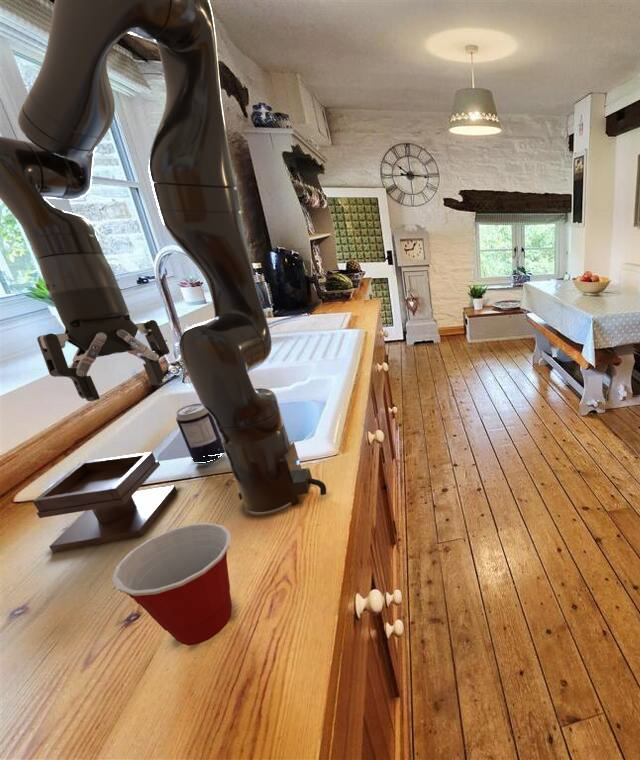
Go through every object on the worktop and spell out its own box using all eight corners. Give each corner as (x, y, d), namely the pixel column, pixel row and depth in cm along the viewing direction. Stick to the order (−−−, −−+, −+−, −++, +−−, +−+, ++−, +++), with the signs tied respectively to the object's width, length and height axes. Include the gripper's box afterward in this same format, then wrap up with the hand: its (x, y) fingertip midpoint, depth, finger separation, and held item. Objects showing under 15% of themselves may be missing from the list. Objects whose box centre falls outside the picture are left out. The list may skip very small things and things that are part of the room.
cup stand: (177, 490, 77) (158, 448, 73) (141, 536, 66) (117, 490, 62) (102, 502, 74) (79, 460, 71) (52, 552, 64) (22, 505, 60)
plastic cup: (265, 624, 51) (237, 553, 46) (157, 688, 45) (111, 612, 40) (246, 572, 59) (220, 506, 54) (151, 620, 52) (112, 550, 48)
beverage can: (232, 452, 88) (214, 402, 84) (212, 467, 83) (192, 415, 79) (208, 451, 89) (189, 402, 84) (187, 466, 84) (166, 415, 79)
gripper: (31, 289, 53) (82, 405, 57) (153, 281, 66) (189, 377, 70) (5, 297, 56) (56, 408, 60) (127, 288, 69) (162, 380, 73)
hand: (127, 391), depth 65 cm, fingers open, 8 cm apart
